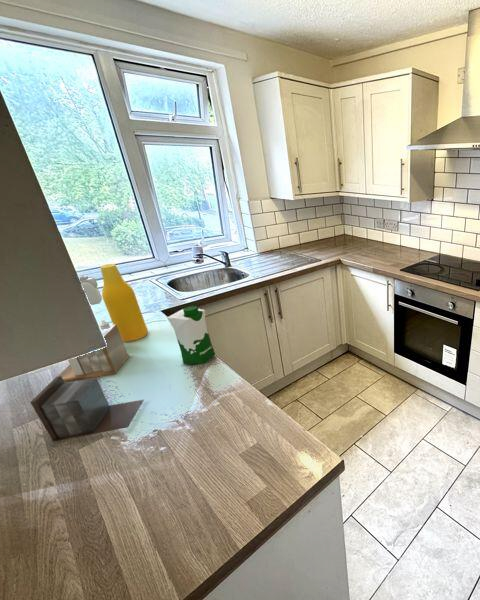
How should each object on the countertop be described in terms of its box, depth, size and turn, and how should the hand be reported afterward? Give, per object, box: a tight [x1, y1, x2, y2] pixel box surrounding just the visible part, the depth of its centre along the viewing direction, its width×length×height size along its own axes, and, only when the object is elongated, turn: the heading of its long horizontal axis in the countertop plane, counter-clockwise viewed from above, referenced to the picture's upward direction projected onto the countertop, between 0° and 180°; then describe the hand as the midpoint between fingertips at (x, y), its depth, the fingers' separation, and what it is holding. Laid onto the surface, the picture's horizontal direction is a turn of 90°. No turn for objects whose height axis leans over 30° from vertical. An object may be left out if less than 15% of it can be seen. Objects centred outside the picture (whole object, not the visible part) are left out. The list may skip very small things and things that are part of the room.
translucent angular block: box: [58, 324, 131, 383], centre depth 106 cm, size 16×11×13 cm
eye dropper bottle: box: [99, 319, 111, 330], centre depth 117 cm, size 4×6×12 cm
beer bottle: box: [99, 263, 149, 343], centre depth 122 cm, size 9×9×29 cm
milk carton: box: [166, 305, 216, 366], centre depth 110 cm, size 9×9×20 cm
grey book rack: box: [30, 375, 145, 443], centre depth 85 cm, size 16×11×13 cm
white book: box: [67, 357, 85, 376], centre depth 105 cm, size 2×9×15 cm, turn 18°
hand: (66, 323), depth 101 cm, fingers open, 8 cm apart
